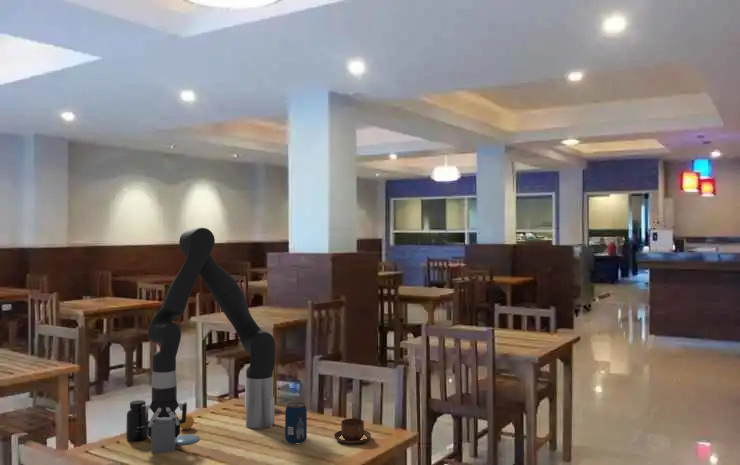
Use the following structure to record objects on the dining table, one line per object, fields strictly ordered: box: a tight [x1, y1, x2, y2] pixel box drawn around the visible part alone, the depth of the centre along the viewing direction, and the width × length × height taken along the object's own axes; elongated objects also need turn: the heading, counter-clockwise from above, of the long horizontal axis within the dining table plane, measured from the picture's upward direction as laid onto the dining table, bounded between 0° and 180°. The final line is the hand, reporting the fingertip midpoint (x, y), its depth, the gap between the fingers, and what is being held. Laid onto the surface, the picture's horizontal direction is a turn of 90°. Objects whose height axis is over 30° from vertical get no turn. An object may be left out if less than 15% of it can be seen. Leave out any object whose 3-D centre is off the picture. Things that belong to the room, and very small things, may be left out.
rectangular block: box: [150, 417, 177, 454], centre depth 204 cm, size 7×9×9 cm
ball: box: [179, 413, 195, 430], centre depth 223 cm, size 5×5×5 cm
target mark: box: [176, 434, 201, 446], centre depth 212 cm, size 10×10×1 cm
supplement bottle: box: [125, 399, 149, 442], centre depth 213 cm, size 7×7×12 cm
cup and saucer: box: [333, 418, 372, 444], centre depth 212 cm, size 12×12×6 cm
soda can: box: [284, 401, 308, 445], centre depth 211 cm, size 7×7×12 cm
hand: (164, 437), depth 204 cm, fingers closed on rectangular block, 7 cm apart
